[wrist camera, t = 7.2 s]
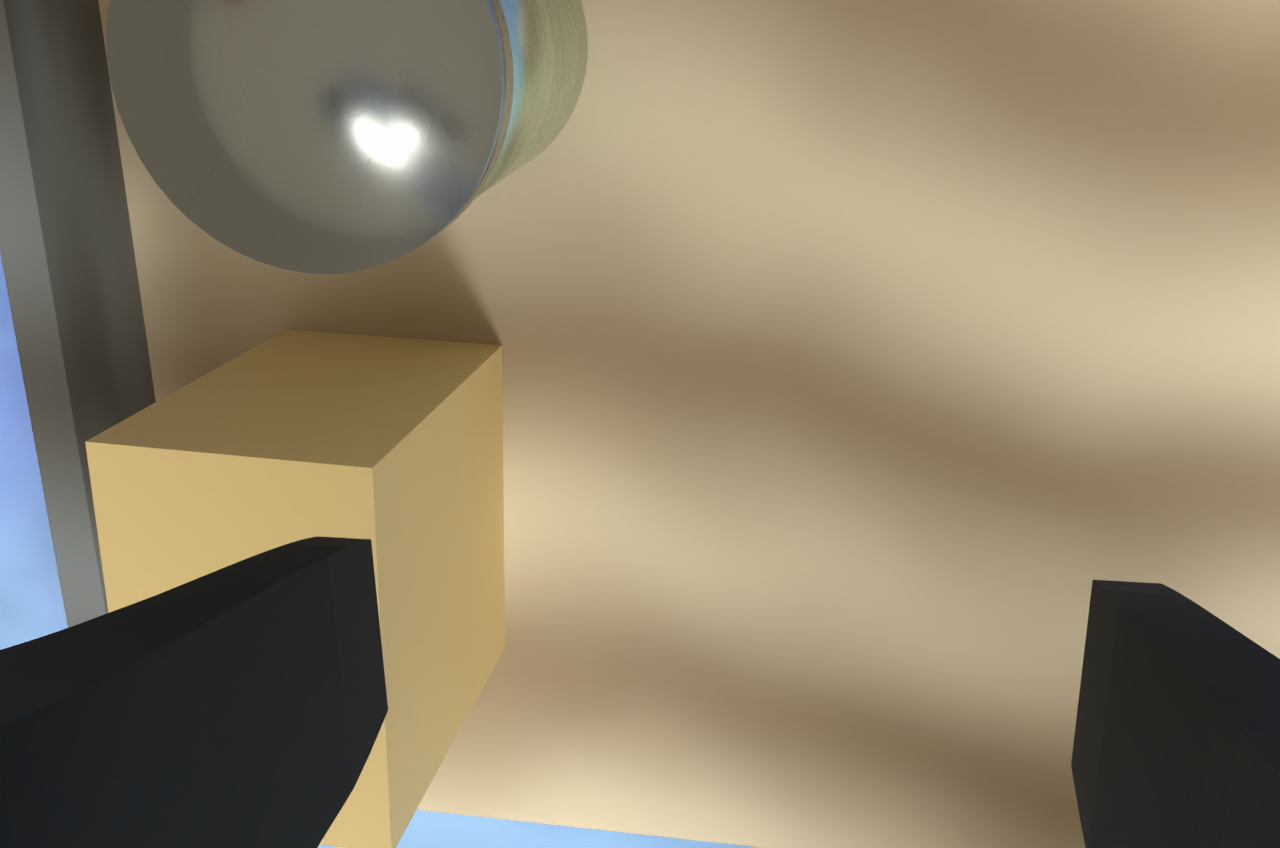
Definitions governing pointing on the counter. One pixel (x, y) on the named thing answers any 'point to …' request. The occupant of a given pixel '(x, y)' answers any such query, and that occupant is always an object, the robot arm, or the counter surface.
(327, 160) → the spice tin
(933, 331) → the shelf board
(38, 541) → the counter surface
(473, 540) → the carton
